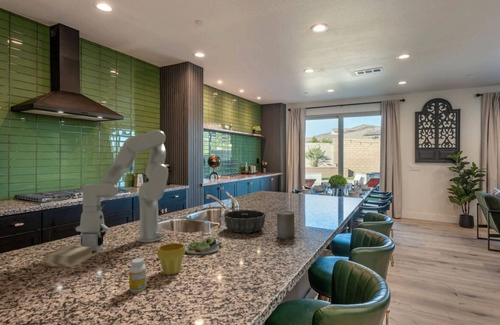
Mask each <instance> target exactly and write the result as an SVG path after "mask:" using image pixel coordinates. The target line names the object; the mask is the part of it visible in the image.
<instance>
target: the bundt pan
mask: <svg viewBox="0 0 500 325" xmlns="http://www.w3.org/2000/svg"><path fill="white" fill-rule="evenodd" d="M266 216H267V215H266V213H265V212H264V211H260V210H254V209H252V210H251V209H239V210H232V211H231V210H230V211H227V212H225V213H223V217H224V222H225V226H226V228H227V229H228V230H229V231H230V232H231V233H232V232H233V233H241V234H243V233H246V234H248V233H255V232H257V231H260V230H262V229H263V227H264V225H265V219H266Z"/></svg>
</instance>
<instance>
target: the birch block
mask: <svg viewBox="0 0 500 325" xmlns="http://www.w3.org/2000/svg"><path fill="white" fill-rule="evenodd" d="M44 257H45V266H46V267H61V268H73V267H74V266H75V267H76V265H79V264H81V263H83V262H85V261H87V260H89V259H91V258H92V257H93V251H92V247H83V246H82V245H67V246H64V247H61V248H60V249H57V250H54V251H52V252H49V253H46V254H45V256H44Z"/></svg>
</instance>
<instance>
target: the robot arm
mask: <svg viewBox="0 0 500 325" xmlns="http://www.w3.org/2000/svg"><path fill="white" fill-rule="evenodd" d="M166 140H167V139H166V134H165V132H164V131H162V130H160V129H159V130H158V129H155V130H150V131H147V132H146V133H142V134H139V135H134V136H131V137H128V138H127V139H126V140H124V142H123V144H122V146H121V148H120V149H119V152H118V153H117V155H116V157H115V158H114V160H113V162H112V163H111V164H110V167H109V168H108V169H107V171H106V172H105V174H104V175H103V178H102V179H101V182H100V183H86V184H83V185H82V212H81V214H80V221H79V224H80V225H78V226H76V227H75V229H74V230H75V231H76V232H77V234H78V235H79V238H80V246H82V234H83V233H97V234H98V236H99V238H98V246H100V245H104V237H105V235H106V234H107V232H108V231H109V227H108V226H106V224H105V218H104V213H103V211H102V210H103V206H101V199H112V198H114V197H116V196H117V195H118V193H119V188H118V186H117V184H118V182H119V181H120V179H121V178H122V177H123V176H124V174H126V173H128V171H129V170H130V169H131V168H132V165H133V164H134V162H135V159H136V158H137V156H138V154H139V153H142V152H145V151H148V150H149V157H148V161H147V165H146V168H145V171H144V172H145V176H146V178H147V179H148V181H146V182H143V183H142V184H141V185H140V186H139V188H138V200H139V201H138V202H139V236H138V237H137V238H136V241H137V242H138V243H142V244H143V243H153V242H158V241H161V239H162V238H165V237H166V233H165V232H161V229H159V202H158V201H159V200H161V198H163V195H164V192H165V190H166V187H167V182H168V179H169V169H168V167H167V166H166V165H165V163H166V162H165V161H166V156H167V150H166V147H165V144H164V143H165V142H166ZM100 233H101V234H100Z"/></svg>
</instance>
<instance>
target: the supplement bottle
mask: <svg viewBox="0 0 500 325" xmlns="http://www.w3.org/2000/svg"><path fill="white" fill-rule="evenodd" d="M130 265H131V266H130V267H129V269H128V274H129V275H128V277H129V279H128V280H129V286H128V288H129V291H130V292H133V293H134V292H135V293H136V292H141V291H144V290H145V289H146V288H147V267H146V265H145V259H144V258H141V257H140V258H138V257H137V258H134V259H132V260H131V264H130Z"/></svg>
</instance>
